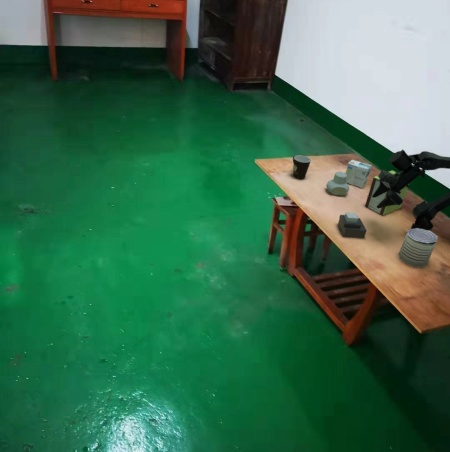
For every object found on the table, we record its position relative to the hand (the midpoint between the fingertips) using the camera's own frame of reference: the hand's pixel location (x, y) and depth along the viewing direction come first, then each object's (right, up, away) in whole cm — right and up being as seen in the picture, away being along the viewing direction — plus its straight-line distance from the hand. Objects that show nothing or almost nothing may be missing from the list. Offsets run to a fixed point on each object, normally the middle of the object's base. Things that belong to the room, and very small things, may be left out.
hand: (374, 202), depth 192 cm
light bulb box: (+4, +13, +46) cm, 48 cm away
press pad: (-10, -7, +2) cm, 13 cm away
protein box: (+12, 0, +27) cm, 30 cm away
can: (+12, -24, -8) cm, 28 cm away
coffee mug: (-25, +17, +47) cm, 56 cm away
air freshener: (-8, +7, +35) cm, 36 cm away
